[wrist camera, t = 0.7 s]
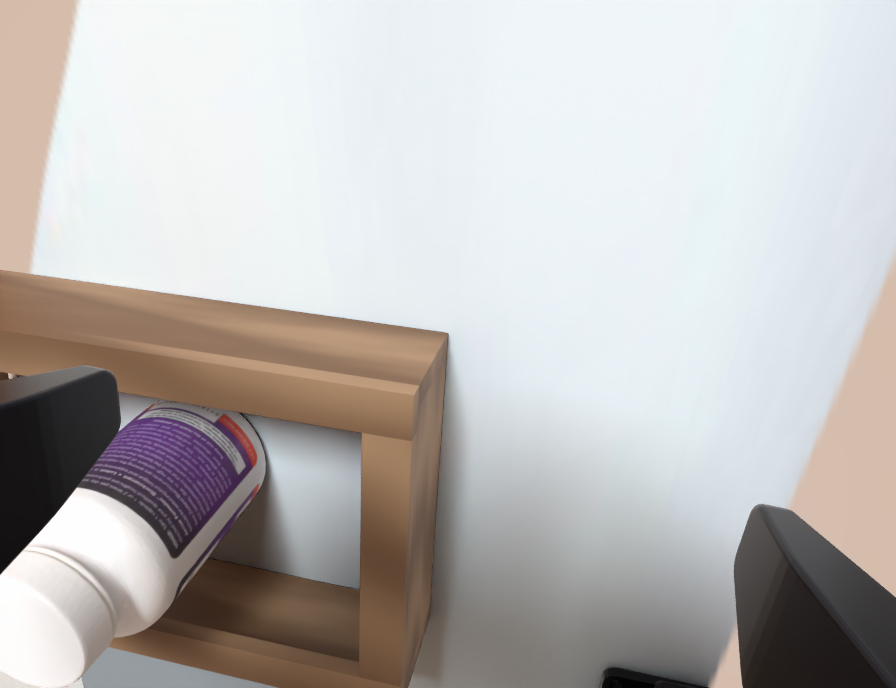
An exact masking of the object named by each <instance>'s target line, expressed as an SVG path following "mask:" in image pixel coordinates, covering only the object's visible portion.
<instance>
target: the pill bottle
mask: <svg viewBox="0 0 896 688" xmlns="http://www.w3.org/2000/svg"><path fill="white" fill-rule="evenodd" d="M265 468H266V461H265V455H264V451H263V447H262V445H261V442H260V440H259V438H258V436H257V434H256V432H255V431H254V429H253V428H252V426H251V425H250V424H249V423H248V421H247V420H246V419H245V418H244V417H243V416H242V415H241V414H240V413H239V412H235V411H230V410H224V409H218V408H212V407H206V406H200V405H194V404H188V403H182V402H176V401H170V400H165V399H161V400H159V401H157V402H156V403H155V404H153V405H152V406H150V407H149V408H147V409H146V410H145V411H143V412H142V413H141V414H140V415H138V416H137V417H136V418H135V419H133V420H132V421H131V422H130V423H129V424H127V425H126V426H125V427H124V428H123V429H121V430H120V431H119V432H118V433H117V435H116V437H115V438H114V440H113V441H112V442H111V444H110V445H109V446H108V448H107V449H106V450H105V451H104V453H103V454H102V455H101V457H100V458H99V459H98V461H97V462H96V463H95V465H94V466H93V467H92V468H91V470H90V471H89V472H88V474H87V475H86V476H85V478H84V479H83V480H82V482H81V483H80V484H79V485H78V487H77V488H76V489H75V491H74V492H73V493H72V495H71V496H70V497H69V499H68V500H67V501H66V502H65V504H64V505H63V506H62V507H61V509H60V510H59V511H58V512H57V514H56V515H55V516H54V517H53V518H52V519H51V521H50V522H49V523H48V524H47V525H46V526H45V527H44V528H43V530H42V531H41V532H40V533H39V534H38V535H37V536H36V537H35V538H34V539H33V540H32V541H31V542H30V543H29V545H28V546H27V547H26V548H25V549H24V550H23V551H22V552H21V553H20V554H19V555H18V556H17V557H16V559H15V560H14V561H13V562H12V563H11V564H10V565H9V566H8V567H7V568H6V569H5V570H4V571H3V573H2V574H1V575H0V671H2V672H3V673H5V674H7V675H9V676H11V677H12V678H14V679H16V680H19V681H21V682H24V683H26V684H29V685H32V686H36V687H42V688H63V687H66V686H69V685H71V684H73V683H74V682H76V681H77V680H79V679H80V678H81V677H82V675H83V674H84V673H85V672H86V671H87V670H88V669H89V668H90V666H91V665H92V664H93V663H94V662H95V661H96V660H97V659H98V657H99V656H100V655H101V654H102V653H103V652H104V651H105V650H106V649H107V648H108V646H109V645H110V643H111V642H112V640H113V638H116V637H125V636H129V635H133V634H136V633H138V632H141V631H143V630H145V629H147V628H148V627H150V626H151V625H152V624H154V623H155V622H156V621H157V620H158V619H159V618H160V617H161V616H162V615H163V614H164V613H165V611H166V610H167V609H168V608H169V607H170V606H171V604H172V603H173V602H174V601H175V599H176V598H177V597H178V595H179V594H180V593H181V592H182V590H183V589H184V588H185V586H186V585H187V584H188V582H189V581H190V580H191V579H192V577H193V576H194V575H195V574H196V572H197V571H198V570H199V568H200V567H201V566H202V565H203V563H204V562H205V561H206V559H207V558H208V557H209V556H210V554H211V553H212V552H213V550H214V549H215V548H216V546H217V545H218V544H219V543H220V541H221V540H222V539H223V537H224V536H225V535H226V533H227V532H228V531H229V530H230V528H231V527H232V526H233V525H234V523H235V522H236V521H237V519H238V518H239V517H240V516H241V514H242V513H243V511H244V510H245V509H246V508H247V506H248V505H249V504H250V503H251V501H252V500H253V498H254V497H255V495H256V494H257V492H258V491H259V489H260V487H261V485H262V483H263V480H264V476H265Z"/></svg>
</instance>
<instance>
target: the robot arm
mask: <svg viewBox="0 0 896 688" xmlns="http://www.w3.org/2000/svg"><path fill="white" fill-rule="evenodd" d="M120 423H121V415H120V406H119V396H118V387H117V380H116V377H115V375H114V374H113V373H112V372H111V371H110V370H107V369H102V368H98V367H93V366H86V365H84V366H77V367H72V368H67V369H61V370H56V371H51V372H45V373H40V374H35V375H29V376H24V377H19V378H13V379H8V380H3V381H0V575H1V574H2V573H3V571H4V570H5V569H6V568H7V567H8V566H9V565H10V564H11V563H12V562H13V561H14V560H15V559H16V557H17V556H18V555H19V554H20V553H21V552H22V551H23V550H24V549H25V548H26V547H27V546H28V545H29V543H30V542H31V541H32V540H33V539H34V538H35V537H36V536H37V535H38V534H39V533H40V532H41V531H42V530H43V528H44V527H45V526H46V525H47V524H48V523H49V522H50V521H51V519H52V518H53V517H54V516H55V515H56V514H57V512H58V511H59V510H60V509H61V507H62V506H63V505H64V504H65V502H66V501H67V500H68V499H69V497H70V496H71V495H72V493H73V492H74V491H75V489H76V488H77V487H78V485H79V484H80V483H81V482H82V480H83V479H84V478H85V476H86V475H87V474H88V472H89V471H90V470H91V468H92V467H93V466H94V465H95V463H96V462H97V461H98V459H99V458H100V457H101V455H102V454H103V453H104V451H105V450H106V449H107V448H108V446H109V445H110V444H111V442H112V441H113V440H114V438H115V437H116V435H117V433H118V431H119V428H120ZM734 583H735V597H736V611H737V625H738V638H739V653H740V666H741V676H742V686H743V688H896V597H894V596H893V595H892V594H891V593H890V592H889V591H887V590H886V589H885V588H884V587H883V586H881V585H880V584H879V583H878V582H876V581H875V580H874V579H873V578H872V577H871V576H869V575H868V574H867V573H866V572H865V571H863V570H862V569H861V568H860V567H859V566H857V565H856V564H855V563H854V562H853V561H851V560H850V559H849V558H848V557H847V556H845V555H844V554H843V553H842V552H840V551H839V550H838V549H837V548H836V547H835V546H833V545H832V544H831V543H830V542H829V541H827V540H826V539H825V538H824V537H823V536H821V535H820V534H819V533H818V532H817V531H815V530H814V529H813V528H812V527H811V526H809V525H808V524H807V523H806V522H805V521H803V520H802V519H801V518H800V517H799V516H798V515H796V514H795V513H794V512H793V511H791V510H788V509H785V508H780V507H775V506H770V505H765V504H758V505H756V506H755V507H754V508H753V509H752V511H751V513H750V516H749V518H748V521H747V524H746V527H745V530H744V533H743V536H742V539H741V542H740V544H739V547H738V550H737V553H736V557H735V562H734ZM614 681H618V682H614ZM600 688H708V687H703V686H699V685H694V684H689V683H685V682H680V681H675V680H671V679H666V678H661V677H657V676H652V675H647V674H643V673H638V672H633V671H629V670H624V669H619V668H609V669H607V670H605V671H604V673H603V675H602V680H601V684H600Z"/></svg>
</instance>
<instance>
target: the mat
mask: <svg viewBox="0 0 896 688" xmlns="http://www.w3.org/2000/svg"><path fill="white" fill-rule="evenodd" d="M82 681H83V686H84V688H278V687H273V686H269V685H265V684H261V683H257V682H253V681H248V680H244V679H240V678H236V677H232V676H227V675H223V674H219V673H215V672H211V671H206V670H202V669H198V668H194V667H190V666H186V665H181V664H177V663H173V662H169V661H165V660H160V659H156V658H152V657H148V656H144V655H140V654H135V653H131V652H127V651H123V650H119V649H114V648H110V647H108V648H107V649H106V650H105V651H104V652H103V653H102V654H101V655H100V656H99V657H98V659H97V660H96V661H95V662H94V663H93V664H92V665H91V666H90V668H89V669H88V670H87V671H86V672H85V673H84V674H83V675H82Z"/></svg>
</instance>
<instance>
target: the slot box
mask: <svg viewBox="0 0 896 688" xmlns="http://www.w3.org/2000/svg"><path fill="white" fill-rule="evenodd" d="M447 344H448V333H444V332H437V331H430V330H423V329H416V328H409V327H402V326H395V325H388V324H380V323H373V322H366V321H359V320H352V319H345V318H338V317H331V316H324V315H317V314H309V313H302V312H295V311H288V310H281V309H274V308H267V307H260V306H253V305H246V304H238V303H231V302H224V301H217V300H210V299H203V298H196V297H189V296H182V295H175V294H167V293H160V292H153V291H146V290H139V289H132V288H125V287H118V286H111V285H104V284H96V283H89V282H82V281H75V280H68V279H61V278H54V277H47V276H40V275H33V274H25V273H18V272H11V271H4V270H0V381H3V380H8V379H9V378H8V373H11V374H17V375H23V376H29V375H35V374H40V373H45V372H51V371H56V370H61V369H67V368H72V367H77V366H84V365H86V366H93V367H98V368H102V369H107V370H110V371H111V372H112V373H113V374H114V375H115V377H116V380H117V387H118V392H123V393H129V394H135V395H141V396H147V397H153V398H159V399H165V400H170V401H176V402H182V403H188V404H194V405H200V406H206V407H212V408H218V409H224V410H230V411H235V412H241V413H247V414H253V415H259V416H265V417H271V418H277V419H283V420H289V421H295V422H300V423H306V424H312V425H318V426H324V427H330V428H336V429H342V430H348V431H354V432H360V433H362V453H361V544H360V590H357V589H353V588H348V587H343V586H338V585H333V584H329V583H324V582H319V581H314V580H310V579H305V578H300V577H295V576H290V575H286V574H281V573H276V572H271V571H267V570H262V569H257V568H252V567H247V566H243V565H238V564H233V563H228V562H224V561H219V560H214V559H209V558H207V559H206V561H205V562H204V563H203V565H202V566H201V567H200V568H199V570H198V571H197V572H196V574H195V575H194V576H193V577H192V579H191V580H190V581H189V582H188V584H187V585H186V586H185V588H184V589H183V590H182V592H181V593H180V594H179V595H178V597H177V598H176V599H175V601H174V602H173V603H172V604H171V606H170V607H169V608H168V609H167V610H166V611H165V613H164V614H163V615H162V616H161V617H160V618H159V619H158V620H157V621H156V622H155V623H154V624H152V625H151V626H150V627H148V628H147V629H145V630H143V631H141V632H138V633H136V634H133V635H129V636H125V637H116V638H113V640H112V642H111V643H110V645H109V646H108V647H110V648H114V649H119V650H123V651H127V652H131V653H135V654H140V655H144V656H148V657H152V658H156V659H160V660H165V661H169V662H173V663H177V664H181V665H186V666H190V667H194V668H198V669H202V670H206V671H211V672H215V673H219V674H223V675H227V676H232V677H236V678H240V679H244V680H248V681H253V682H257V683H261V684H265V685H269V686H273V687H278V688H408V686H409V682H410V679H411V676H412V673H413V669H414V666H415V663H416V660H417V656H418V653H419V650H420V647H421V643H422V640H423V637H424V634H425V631H426V627H427V624H428V621H429V612H430V597H431V582H432V567H433V552H434V537H435V522H436V508H437V493H438V478H439V463H440V448H441V433H442V418H443V403H444V388H445V373H446V359H447Z"/></svg>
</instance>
